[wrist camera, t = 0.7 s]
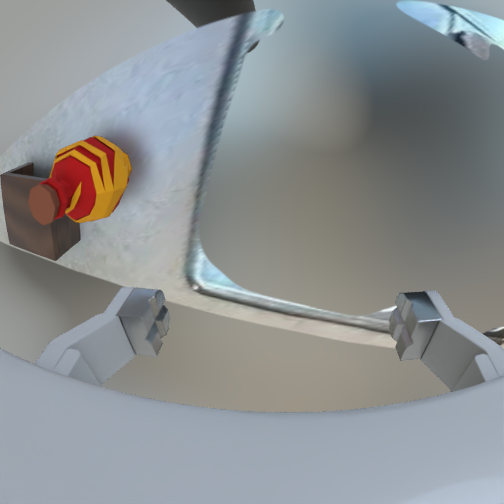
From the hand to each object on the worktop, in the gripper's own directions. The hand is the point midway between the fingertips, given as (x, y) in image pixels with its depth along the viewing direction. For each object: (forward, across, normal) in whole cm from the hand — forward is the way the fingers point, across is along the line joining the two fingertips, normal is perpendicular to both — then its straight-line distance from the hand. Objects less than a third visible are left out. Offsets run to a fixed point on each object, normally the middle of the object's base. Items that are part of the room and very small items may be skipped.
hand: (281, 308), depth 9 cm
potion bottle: (+26, +21, -1) cm, 34 cm away
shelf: (+26, +36, +3) cm, 44 cm away
